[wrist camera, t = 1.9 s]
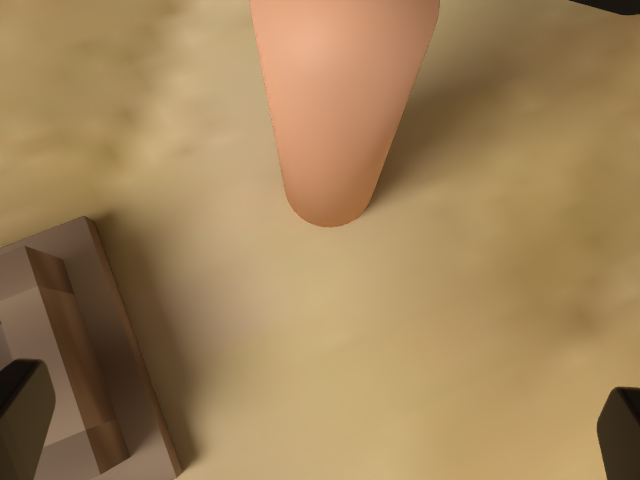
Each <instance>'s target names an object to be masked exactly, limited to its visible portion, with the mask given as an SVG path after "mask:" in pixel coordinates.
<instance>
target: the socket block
mask: <svg viewBox="0 0 640 480" xmlns="http://www.w3.org/2000/svg"><path fill="white" fill-rule="evenodd" d="M18 358H32V359H42V360H43V361H44V362H45V363H46V365H47V367H48V371H49V374H50V377H51V380H52V383H53V387H54V390H55V394H56V404H55V409H54V413H53V416H52V419H51V423H50V426H49V430H48V433H47V436H46V440H45V443H44V446H43V450H42V453H41V457H40V460H39V463H38V467H37V470H36V474H35V477H34V480H173V479H175V478H177V477H178V476H179V475H180V474H181V473H183V471H182V469H181V466H180V463H179V460H178V457H177V454H176V452H175V449H174V446H173V443H172V440H171V438H170V435H169V432H168V429H167V426H166V423H165V421H164V418H163V415H162V412H161V409H160V407H159V404H158V401H157V398H156V395H155V392H154V390H153V387H152V384H151V381H150V378H149V375H148V373H147V370H146V367H145V364H144V361H143V359H142V356H141V353H140V350H139V347H138V344H137V342H136V339H135V336H134V333H133V330H132V328H131V325H130V322H129V319H128V316H127V313H126V311H125V308H124V305H123V302H122V299H121V297H120V294H119V291H118V288H117V285H116V282H115V280H114V277H113V274H112V271H111V268H110V265H109V263H108V260H107V257H106V254H105V251H104V249H103V246H102V243H101V240H100V237H99V234H98V232H97V229H96V226H95V223H94V221H93V220H91V219H89V218H87V217H86V216H82V217H79V218H77V219H74V220H72V221H69V222H67V223H64V224H61V225H59V226H56V227H54V228H51V229H49V230H46V231H43V232H41V233H38V234H36V235H33V236H31V237H28V238H25V239H23V240H20V241H18V242H15V243H13V244H10V245H7V246H5V247H2V248H0V370H1V369H2V368H4V367H5V366H6V365H8V364H9V363H10V362H12V361H13V360H15V359H18Z"/></svg>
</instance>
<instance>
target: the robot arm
mask: <svg viewBox="0 0 640 480" xmlns="http://www.w3.org/2000/svg"><path fill="white" fill-rule="evenodd" d="M55 404H56V394H55V390H54V387H53V383H52V380H51V377H50V374H49V371H48V367H47V365H46V363H45V362H44V361H43V360H42V359H32V358H18V359H15V360H13V361H12V362H10V363H9V364H8V365H6V366H5V367H4V368H2V369H1V370H0V480H34V477H35V474H36V470H37V467H38V463H39V460H40V457H41V453H42V450H43V446H44V443H45V440H46V436H47V433H48V430H49V426H50V423H51V419H52V416H53V413H54V409H55ZM597 435H598V440H599V444H600V449H601V453H602V458H603V462H604V467H605V471H606V476H607V480H640V388H636V387H615V388H614V389H613V390H612V391H611V392H610V394H609V396H608V399H607V401H606V403H605V405H604V407H603V410H602V412H601V414H600V416H599V418H598V422H597Z"/></svg>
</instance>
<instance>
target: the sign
mask: <svg viewBox="0 0 640 480" xmlns="http://www.w3.org/2000/svg"><path fill="white" fill-rule="evenodd" d="M570 1H573V2H577V3H581V4H584V5H588V6H591V7H595V8H599V9H602V10H606V11H610V12H613V13H617V14H621V15H634V14H640V0H570Z"/></svg>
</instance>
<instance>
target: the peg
mask: <svg viewBox="0 0 640 480" xmlns="http://www.w3.org/2000/svg"><path fill="white" fill-rule="evenodd" d="M439 7H440V0H250V9H251V14H252V19H253V25H254V30H255V35H256V40H257V46H258V51H259V56H260V61H261V67H262V72H263V77H264V82H265V88H266V93H267V98H268V103H269V109H270V114H271V119H272V124H273V130H274V135H275V140H276V145H277V151H278V156H279V161H280V166H281V172H282V177H283V182H284V187H285V192H286V196H287V199H288V202H289V203H290V205H291V207H292V208H293V210H294V211H295V212H296V213H297V214H298V215H299V216H300V217H301V218H302V219H304V220H306V221H307V222H309V223H311V224H314V225H317V226H322V227H337V226H342V225H344V224H347V223H349V222H351V221H353V220H354V219H356V218H357V217H359V216H360V215H361V214H362V213H363V211H364V210H365V209H366V208H367V206H368V204H369V202H370V200H371V198H372V195H373V192H374V190H375V187H376V184H377V181H378V179H379V176H380V173H381V171H382V168H383V165H384V163H385V160H386V157H387V155H388V152H389V149H390V147H391V144H392V141H393V138H394V136H395V133H396V130H397V128H398V125H399V122H400V120H401V117H402V114H403V112H404V109H405V106H406V104H407V101H408V98H409V96H410V93H411V90H412V87H413V85H414V82H415V79H416V77H417V74H418V71H419V69H420V66H421V63H422V61H423V58H424V55H425V53H426V50H427V47H428V45H429V42H430V39H431V36H432V34H433V31H434V28H435V25H436V22H437V19H438V14H439Z"/></svg>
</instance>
